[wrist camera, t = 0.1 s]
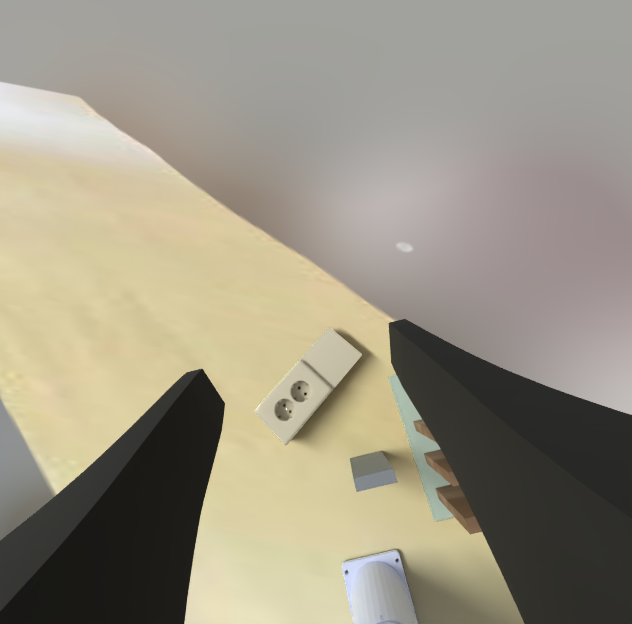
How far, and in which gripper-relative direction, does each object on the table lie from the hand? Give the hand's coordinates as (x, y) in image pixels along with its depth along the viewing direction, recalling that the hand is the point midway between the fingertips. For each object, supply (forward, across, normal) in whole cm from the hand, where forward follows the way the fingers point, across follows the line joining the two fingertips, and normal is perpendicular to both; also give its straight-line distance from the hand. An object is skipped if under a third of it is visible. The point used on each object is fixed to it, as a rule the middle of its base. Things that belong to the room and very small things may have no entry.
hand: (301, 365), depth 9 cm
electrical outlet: (+22, +3, +24) cm, 33 cm away
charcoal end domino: (+12, -3, +32) cm, 34 cm away
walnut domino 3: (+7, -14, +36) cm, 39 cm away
